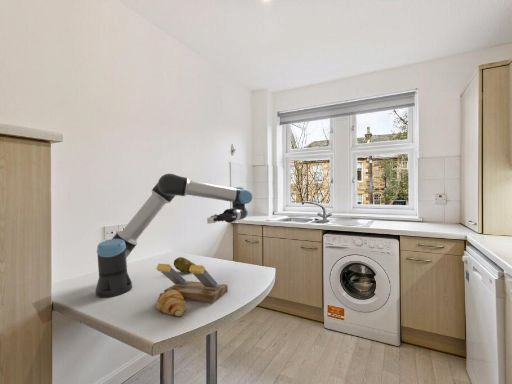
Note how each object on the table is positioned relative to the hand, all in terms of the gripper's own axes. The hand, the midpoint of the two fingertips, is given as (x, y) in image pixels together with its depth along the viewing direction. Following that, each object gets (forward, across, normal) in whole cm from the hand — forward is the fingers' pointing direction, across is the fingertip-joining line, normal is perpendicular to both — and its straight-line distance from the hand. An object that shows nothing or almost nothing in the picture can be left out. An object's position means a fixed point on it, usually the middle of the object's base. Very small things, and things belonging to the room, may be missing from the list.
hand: (208, 220), depth 126 cm
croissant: (+28, +1, -30) cm, 41 cm away
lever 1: (+14, +8, -26) cm, 30 cm away
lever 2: (+14, -8, -26) cm, 30 cm away
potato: (-12, +25, -30) cm, 41 cm away
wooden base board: (+14, 0, -30) cm, 33 cm away
